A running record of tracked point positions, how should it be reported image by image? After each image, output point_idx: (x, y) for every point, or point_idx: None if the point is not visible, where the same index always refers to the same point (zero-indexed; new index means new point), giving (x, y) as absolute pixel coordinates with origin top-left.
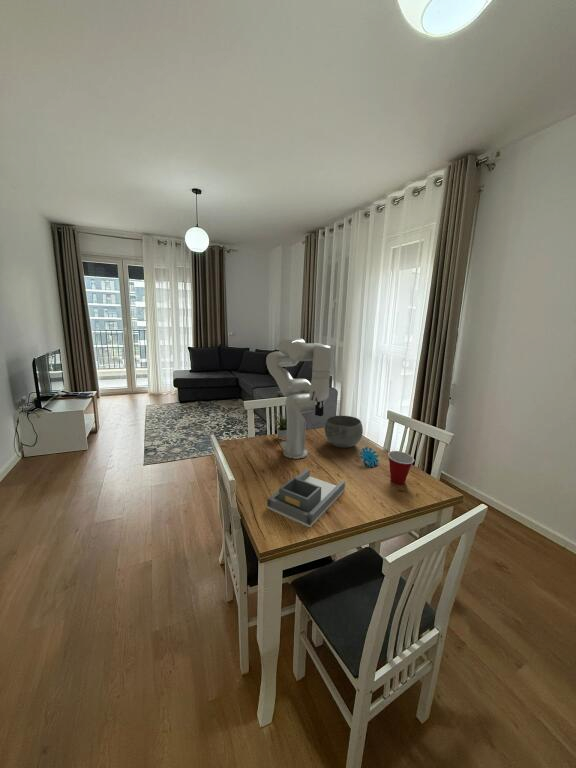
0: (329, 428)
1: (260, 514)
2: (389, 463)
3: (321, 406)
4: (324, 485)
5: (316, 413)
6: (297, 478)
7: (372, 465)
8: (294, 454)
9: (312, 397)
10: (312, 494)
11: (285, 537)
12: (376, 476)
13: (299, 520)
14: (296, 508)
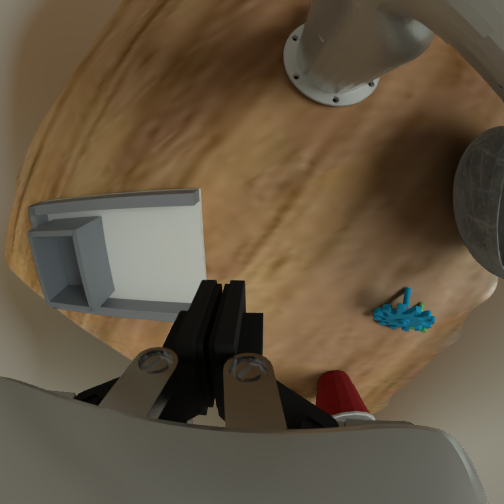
0: (487, 164)
1: (28, 203)
2: (338, 397)
3: (189, 420)
4: (183, 264)
5: (181, 315)
6: (77, 241)
7: (380, 323)
8: (301, 71)
9: (14, 438)
10: (63, 306)
11: (30, 275)
12: (332, 344)
13: None
14: None
